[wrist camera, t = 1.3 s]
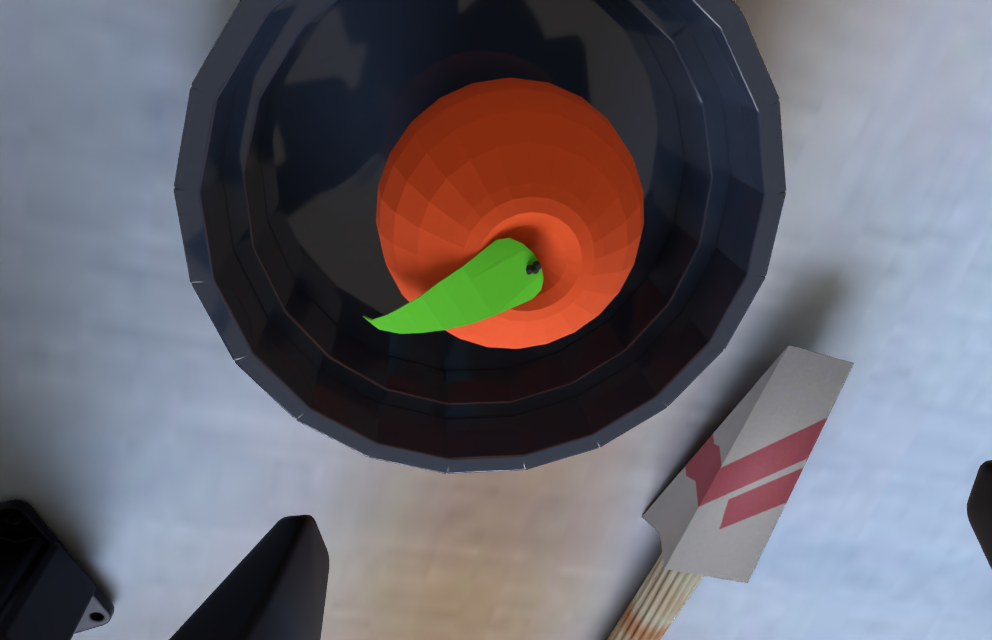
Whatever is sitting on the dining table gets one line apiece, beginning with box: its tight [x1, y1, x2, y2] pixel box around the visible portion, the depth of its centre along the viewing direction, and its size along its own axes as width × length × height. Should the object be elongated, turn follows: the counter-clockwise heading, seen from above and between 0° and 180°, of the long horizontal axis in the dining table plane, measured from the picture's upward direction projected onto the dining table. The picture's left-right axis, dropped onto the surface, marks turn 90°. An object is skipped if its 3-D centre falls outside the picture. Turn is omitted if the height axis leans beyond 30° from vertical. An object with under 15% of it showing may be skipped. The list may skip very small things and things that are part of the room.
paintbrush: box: [607, 345, 854, 640], centre depth 28 cm, size 4×3×20 cm
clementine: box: [362, 78, 644, 349], centre depth 18 cm, size 8×7×7 cm
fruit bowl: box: [174, 0, 786, 474], centre depth 19 cm, size 15×15×4 cm
